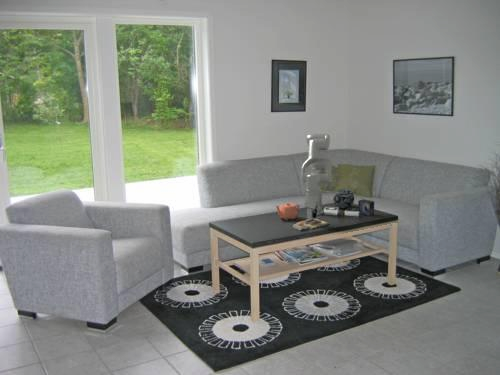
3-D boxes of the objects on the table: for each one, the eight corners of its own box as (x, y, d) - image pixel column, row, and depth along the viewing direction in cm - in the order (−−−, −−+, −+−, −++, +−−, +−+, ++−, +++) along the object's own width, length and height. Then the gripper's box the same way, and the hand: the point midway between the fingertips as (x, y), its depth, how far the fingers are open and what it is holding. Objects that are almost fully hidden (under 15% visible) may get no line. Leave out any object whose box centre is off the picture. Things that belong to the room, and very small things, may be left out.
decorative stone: (348, 211, 403) (348, 192, 400) (329, 208, 413) (329, 190, 410) (357, 207, 416) (357, 188, 412) (339, 204, 425) (339, 186, 422)
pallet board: (295, 224, 375) (295, 221, 374) (312, 219, 385) (312, 216, 384) (311, 229, 362) (311, 226, 362) (329, 224, 372) (329, 221, 372)
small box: (357, 214, 396) (357, 200, 394) (362, 212, 400) (362, 198, 398) (369, 216, 389) (369, 202, 386) (374, 214, 393) (374, 201, 391)
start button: (295, 227, 364) (295, 223, 363) (300, 226, 367) (300, 221, 366) (300, 228, 361) (300, 224, 360) (304, 227, 363) (304, 223, 363)
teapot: (295, 215, 399) (295, 199, 396) (303, 219, 388) (303, 203, 385) (271, 218, 391) (271, 203, 389) (278, 222, 380) (278, 206, 378)
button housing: (293, 228, 365) (293, 224, 364) (300, 226, 369) (300, 222, 368) (300, 231, 359) (300, 226, 359) (307, 229, 363) (307, 224, 363)
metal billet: (306, 218, 372) (306, 207, 371) (313, 217, 376) (313, 206, 374) (311, 220, 369) (311, 209, 367) (317, 218, 372) (317, 207, 371)
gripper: (299, 190, 373) (300, 215, 376) (316, 194, 360) (317, 220, 363) (307, 189, 377) (307, 213, 381) (324, 192, 364) (324, 218, 368)
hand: (312, 216), depth 372 cm, fingers closed on metal billet, 4 cm apart
